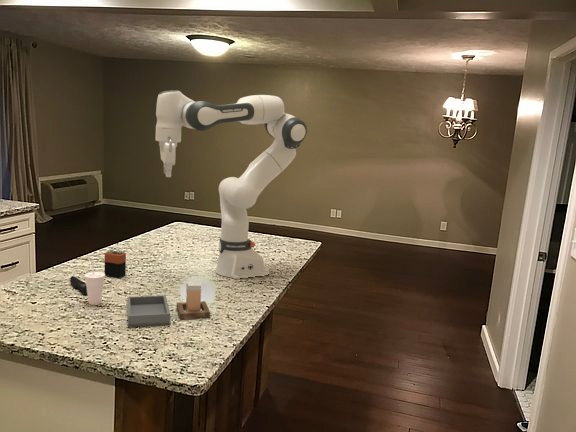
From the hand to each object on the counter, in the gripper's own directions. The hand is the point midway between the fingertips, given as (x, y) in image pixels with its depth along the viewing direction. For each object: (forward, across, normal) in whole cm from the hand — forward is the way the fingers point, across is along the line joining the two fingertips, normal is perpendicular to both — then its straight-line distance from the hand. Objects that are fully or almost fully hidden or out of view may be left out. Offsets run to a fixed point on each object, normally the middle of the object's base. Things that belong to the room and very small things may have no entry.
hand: (167, 175), depth 175 cm
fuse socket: (+41, -30, -7) cm, 51 cm away
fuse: (+41, -30, -7) cm, 51 cm away
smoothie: (+41, -18, +23) cm, 50 cm away
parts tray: (+41, -30, +7) cm, 51 cm away
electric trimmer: (+41, -4, +29) cm, 50 cm away
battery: (+41, +10, +18) cm, 46 cm away
